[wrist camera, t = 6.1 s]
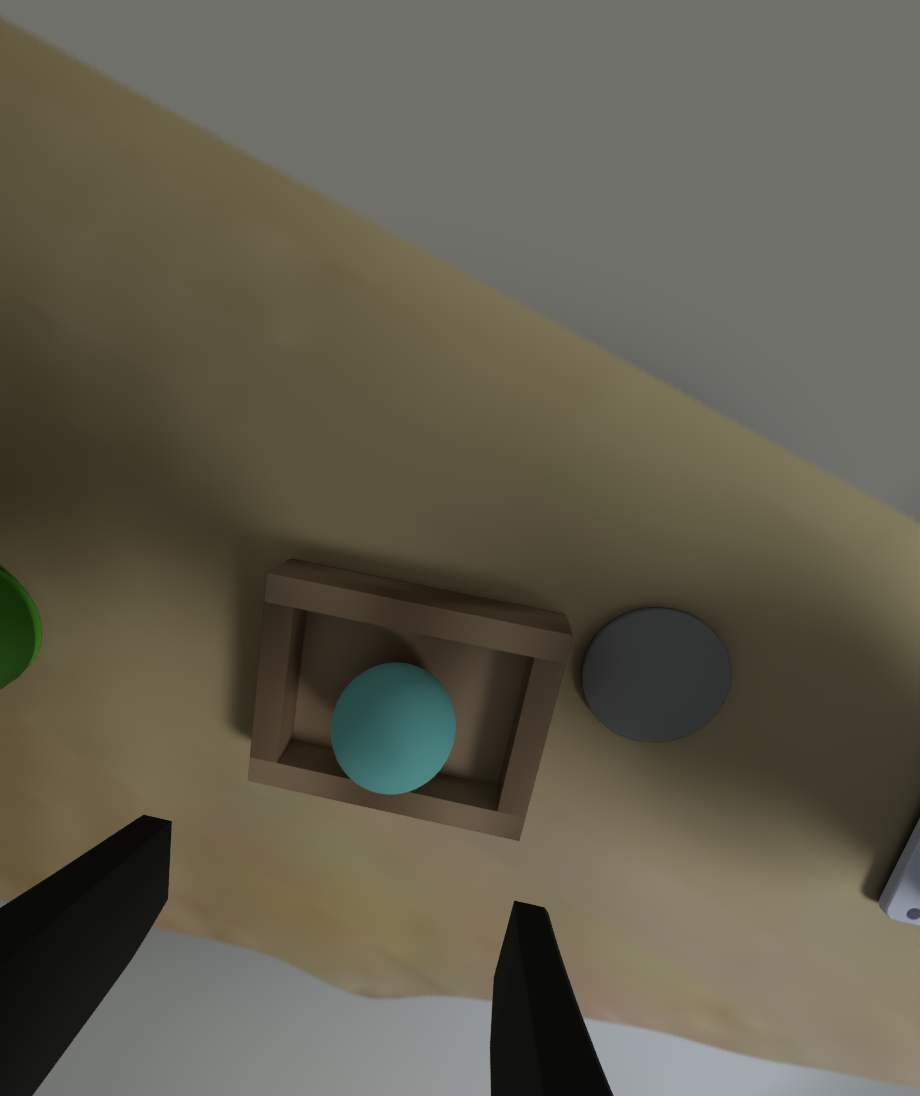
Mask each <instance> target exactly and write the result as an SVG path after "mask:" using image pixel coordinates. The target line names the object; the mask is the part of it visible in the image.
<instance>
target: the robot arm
mask: <svg viewBox="0 0 920 1096" xmlns="http://www.w3.org/2000/svg"><path fill="white" fill-rule="evenodd" d="M171 826H172V821H169V820H164V819H160V818H156V817H151V816H147V815H143V816H141V817H140V818H138V819H136V820H135V821H133V822H132V823H130V824H129V825H127V826H125V827H124V828H122V829H121V830H119V831H118V832H116V833H115V834H113V835H112V836H110V837H109V838H107V839H106V840H104V841H103V842H101V843H100V844H98V845H97V846H95V847H94V848H92V849H91V850H89V851H88V852H86V853H85V854H83V855H82V856H80V857H79V858H77V859H76V860H74V861H72V862H71V863H69V864H68V865H66V866H65V867H63V868H62V869H60V870H59V871H57V872H56V873H54V874H53V875H51V876H49V877H48V878H46V879H45V880H43V881H42V882H40V883H39V884H37V885H35V886H34V887H32V888H31V889H29V890H28V891H26V892H24V893H23V894H21V895H20V896H18V897H17V898H15V899H14V900H12V901H10V902H9V903H7V904H6V905H4V906H3V907H1V908H0V1096H32V1095H33V1094H34V1093H35V1091H36V1090H37V1088H38V1087H39V1086H40V1085H41V1083H42V1082H43V1080H44V1079H45V1078H46V1076H47V1075H48V1073H49V1072H50V1071H51V1069H52V1068H53V1067H54V1065H55V1064H56V1063H57V1061H58V1060H59V1058H60V1057H61V1056H62V1054H63V1053H64V1052H65V1050H66V1049H67V1047H68V1046H69V1045H70V1044H71V1042H72V1041H73V1039H74V1038H75V1037H76V1035H77V1034H78V1033H79V1031H80V1030H81V1029H82V1027H83V1026H84V1024H85V1023H86V1022H87V1020H88V1019H89V1018H90V1016H91V1015H92V1014H93V1012H94V1011H95V1009H96V1008H97V1007H98V1005H99V1004H100V1002H101V1001H102V1000H103V998H104V997H105V996H106V994H107V993H108V991H109V990H110V989H111V987H112V986H113V984H114V983H115V982H116V980H117V979H118V978H119V976H120V975H121V974H122V972H123V971H124V969H125V968H126V967H127V965H128V964H129V962H130V961H131V960H132V958H133V956H134V955H135V953H136V951H137V950H138V948H139V947H140V945H141V943H142V942H143V940H144V939H145V937H146V935H147V933H148V932H149V930H150V929H151V927H152V925H153V924H154V922H155V920H156V918H157V917H158V915H159V913H160V912H161V910H162V908H163V906H164V905H165V903H166V901H167V900H168V886H169V866H170V846H171ZM879 906H880V908H881V909H882V910H883V912H884V913H885V914H886V915H887V916H888V917H889V918H890V919H893V920H896V921H901V922H905V923H910V924H914V925H919V926H920V818H919V820H918V822H917V824H916V826H915V828H914V830H913V832H912V835H911V837H910V839H909V841H908V843H907V845H906V847H905V849H904V851H903V853H902V855H901V857H900V859H899V861H898V863H897V865H896V867H895V869H894V871H893V873H892V875H891V877H890V879H889V881H888V883H887V885H886V887H885V889H884V891H883V893H882V895H881V897H880V900H879ZM491 1020H492V1021H491V1039H490V1065H491V1066H490V1068H491V1096H613V1093H612V1091H611V1089H610V1086H609V1084H608V1081H607V1079H606V1077H605V1074H604V1072H603V1069H602V1067H601V1064H600V1062H599V1059H598V1057H597V1054H596V1051H595V1049H594V1047H593V1044H592V1041H591V1038H590V1036H589V1033H588V1031H587V1028H586V1026H585V1023H584V1020H583V1017H582V1015H581V1012H580V1009H579V1007H578V1004H577V1001H576V998H575V996H574V993H573V990H572V987H571V984H570V981H569V978H568V975H567V972H566V969H565V966H564V963H563V960H562V957H561V954H560V951H559V948H558V945H557V941H556V938H555V935H554V931H553V928H552V925H551V921H550V917H549V914H548V912H547V911H546V909H545V908H544V907H540V906H536V905H531V904H527V903H523V902H518V901H514V904H513V908H512V911H511V915H510V919H509V923H508V926H507V930H506V934H505V937H504V941H503V945H502V949H501V952H500V956H499V960H498V964H497V967H496V971H495V975H494V985H493V1002H492V1019H491Z"/></svg>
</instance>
